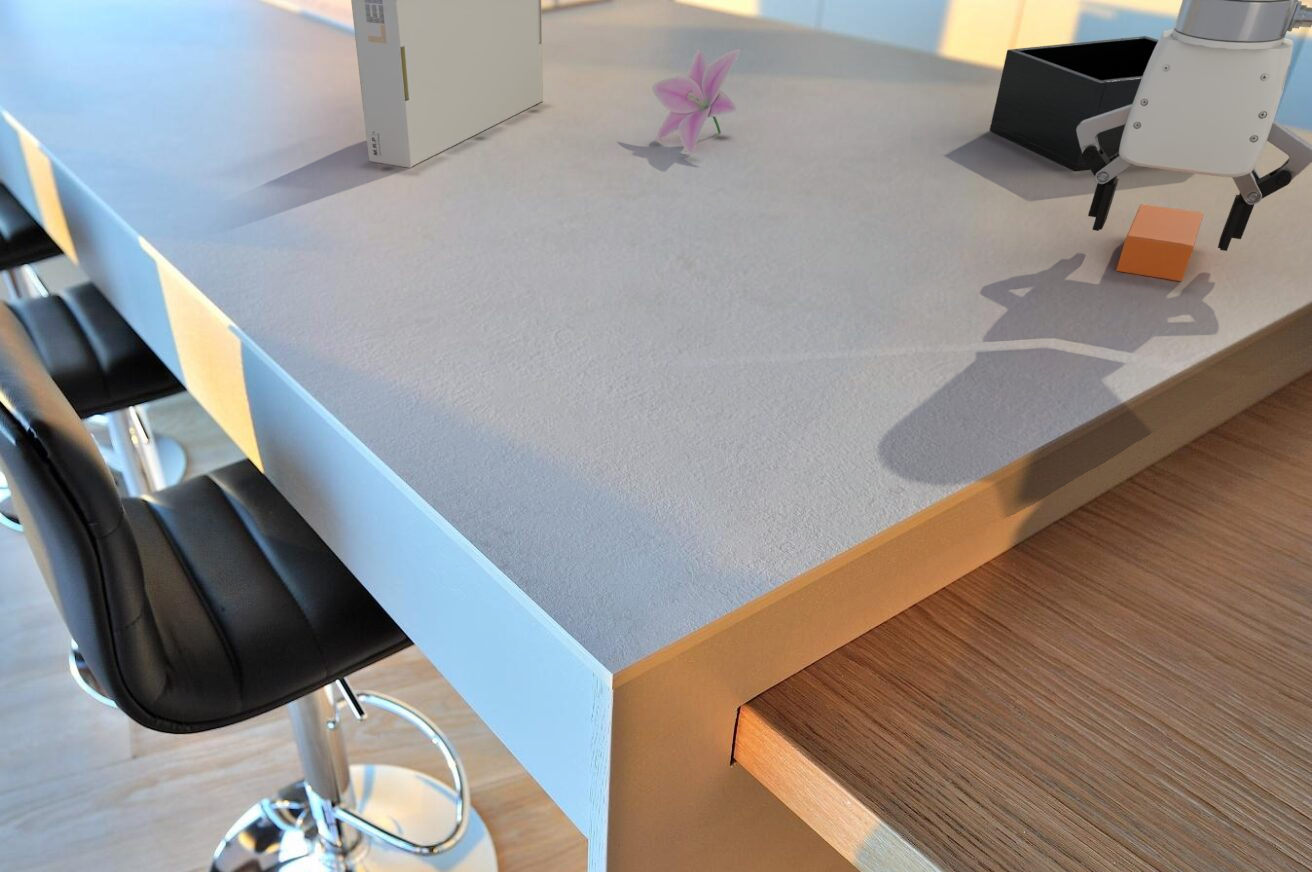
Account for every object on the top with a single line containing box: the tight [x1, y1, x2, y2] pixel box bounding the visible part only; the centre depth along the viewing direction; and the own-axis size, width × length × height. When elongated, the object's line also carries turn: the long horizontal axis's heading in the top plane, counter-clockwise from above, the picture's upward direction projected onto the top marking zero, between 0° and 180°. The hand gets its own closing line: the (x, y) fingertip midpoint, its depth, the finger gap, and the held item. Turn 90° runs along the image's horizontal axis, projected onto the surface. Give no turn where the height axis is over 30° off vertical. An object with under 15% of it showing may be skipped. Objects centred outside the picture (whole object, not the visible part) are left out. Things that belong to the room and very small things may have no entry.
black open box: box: [989, 35, 1159, 172], centre depth 118 cm, size 18×16×9 cm
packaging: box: [350, 0, 544, 169], centre depth 128 cm, size 30×6×20 cm, turn 149°
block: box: [1115, 203, 1204, 282], centre depth 93 cm, size 9×5×3 cm, turn 148°
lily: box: [651, 48, 741, 155], centre depth 124 cm, size 12×12×10 cm
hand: (1159, 235), depth 93 cm, fingers open, 9 cm apart
